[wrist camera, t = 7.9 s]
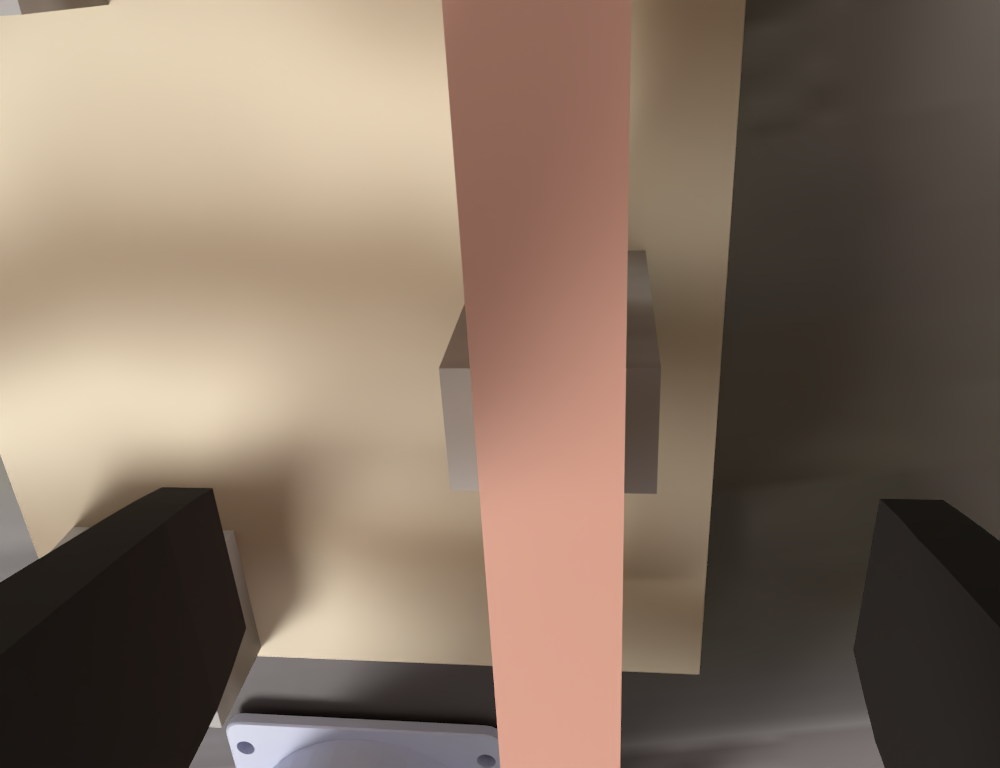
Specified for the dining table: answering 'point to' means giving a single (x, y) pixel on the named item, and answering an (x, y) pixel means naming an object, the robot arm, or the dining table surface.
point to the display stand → (329, 307)
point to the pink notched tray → (547, 355)
